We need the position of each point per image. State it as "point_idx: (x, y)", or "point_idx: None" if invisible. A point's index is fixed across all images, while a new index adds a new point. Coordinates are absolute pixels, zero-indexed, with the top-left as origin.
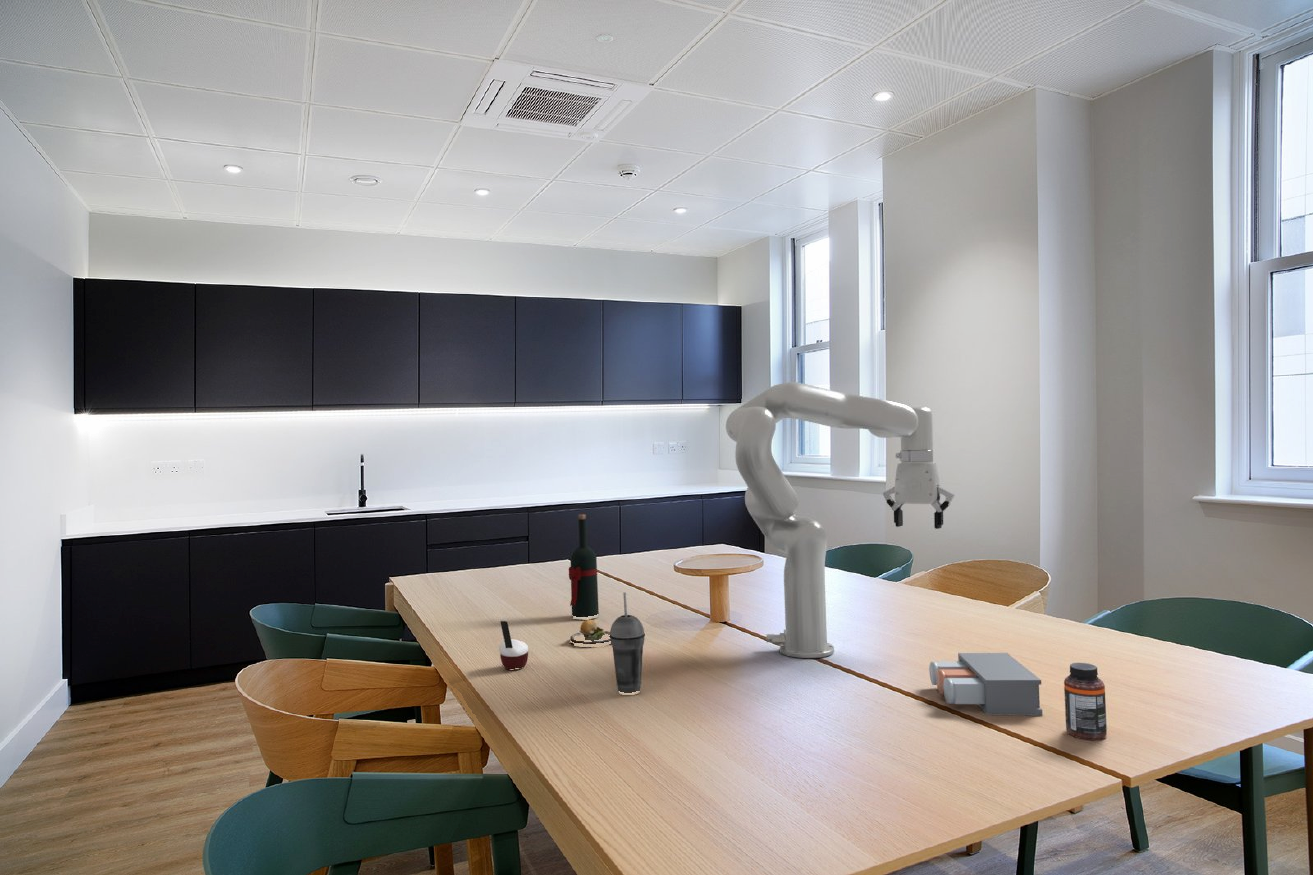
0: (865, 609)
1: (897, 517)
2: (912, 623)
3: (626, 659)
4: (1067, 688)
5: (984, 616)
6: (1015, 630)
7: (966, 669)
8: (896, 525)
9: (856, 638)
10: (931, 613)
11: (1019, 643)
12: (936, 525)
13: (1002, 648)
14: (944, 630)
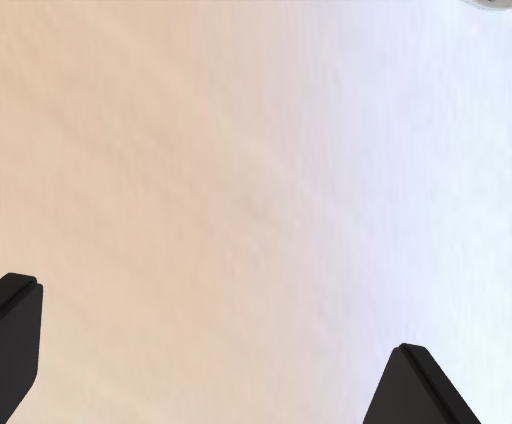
0: None
1: (448, 413)
2: (270, 308)
3: None
4: None
5: (125, 412)
6: None
7: None
8: (417, 346)
9: (386, 122)
10: (240, 407)
11: (2, 189)
12: (2, 286)
13: (30, 127)
14: (190, 264)
